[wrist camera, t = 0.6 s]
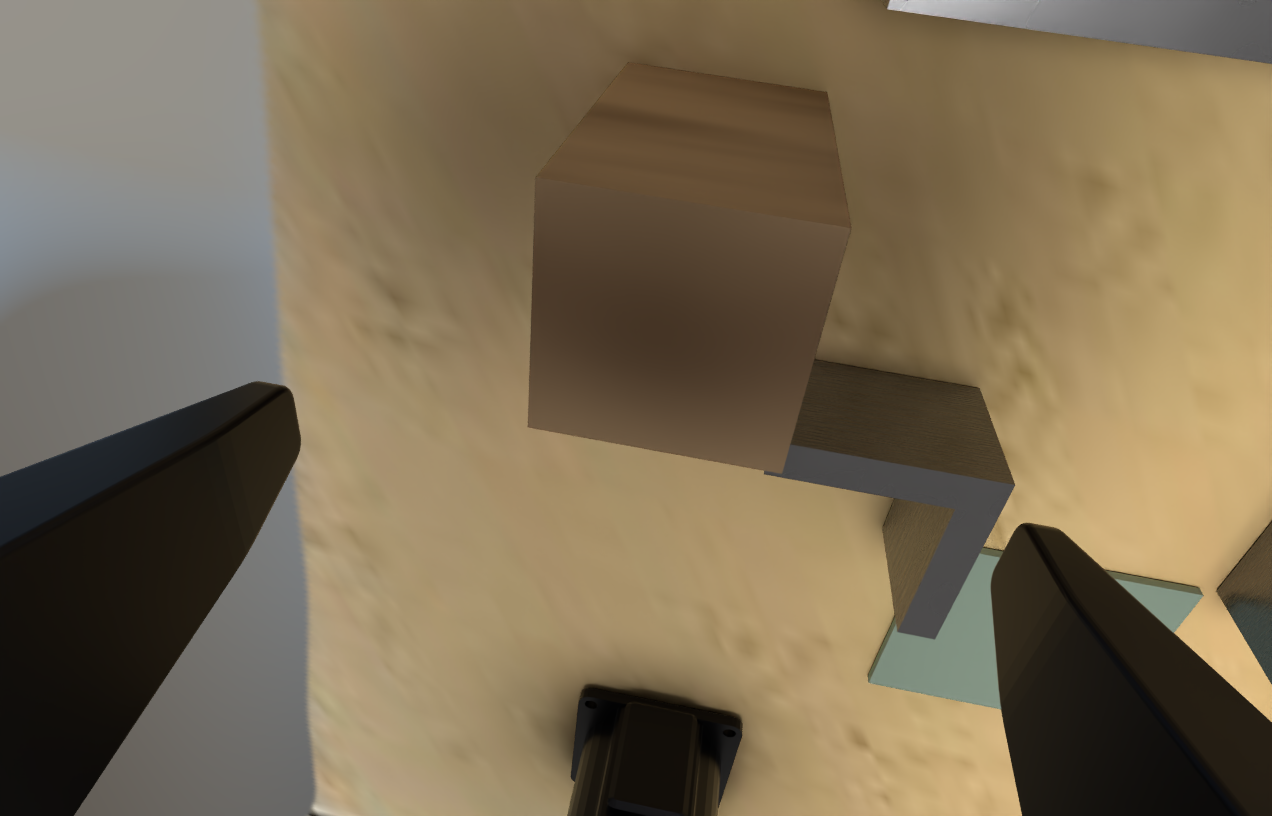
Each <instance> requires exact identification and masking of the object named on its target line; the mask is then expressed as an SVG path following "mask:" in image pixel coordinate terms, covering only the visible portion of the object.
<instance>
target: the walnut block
mask: <svg viewBox="0 0 1272 816" xmlns="http://www.w3.org/2000/svg"><path fill="white" fill-rule="evenodd" d="M850 231H851V223H850V217H849V212H848V206H847V201H846V195H845V189H844V184H843V178H842V173H841V167H840V161H839V156H838V150H837V145H836V139H835V133H834V128H833V122H832V117H831V111H830V105H829V100H828V94H827V92H822V91H816V90H809V89H802V88H795V87H789V86H782V85H775V84H769V83H762V82H755V81H749V80H742V79H735V78H729V77H722V76H715V75H709V74H702V73H695V72H688V71H682V70H675V69H668V68H662V67H655V66H648V65H642V64H635V63H627V65H626V66H625V67H624V68H623V69H622V71H621V72H620V73H619V74H618V76H617V77H616V78H615V79H614V81H613V82H612V83H611V84H610V86H609V87H608V88H607V89H606V91H605V92H604V93H603V94H602V96H601V97H600V98H599V99H598V101H597V102H596V103H595V104H594V105H593V107H592V108H591V109H590V110H589V112H588V113H587V114H586V115H585V117H584V118H583V119H582V120H581V122H580V123H579V124H578V125H577V127H576V128H575V129H574V130H573V132H572V133H571V134H570V135H569V137H568V138H567V139H566V140H565V141H564V143H563V144H562V145H561V146H560V148H559V149H558V150H557V151H556V153H555V154H554V155H553V156H552V158H551V159H550V160H549V161H548V163H547V164H546V165H545V166H544V168H543V169H542V170H541V171H540V173H539V174H538V175H537V176H536V181H535V213H534V246H533V278H532V310H531V343H530V375H529V407H528V427H529V428H534V429H540V430H545V431H551V432H556V433H562V434H567V435H573V436H578V437H583V438H589V439H594V440H600V441H605V442H611V443H616V444H622V445H627V446H633V447H638V448H644V449H649V450H654V451H660V452H665V453H671V454H676V455H682V456H687V457H693V458H698V459H704V460H709V461H714V462H720V463H725V464H731V465H736V466H742V467H747V468H753V469H758V470H764V471H769V472H775V473H780V474H782V472H783V468H784V465H785V461H786V458H787V454H788V451H789V447H790V443H791V440H792V436H793V433H794V429H795V426H796V422H797V419H798V415H799V412H800V408H801V405H802V401H803V398H804V394H805V390H806V387H807V383H808V380H809V376H810V373H811V369H812V366H813V362H814V359H815V355H816V352H817V348H818V344H819V341H820V337H821V334H822V330H823V327H824V323H825V320H826V316H827V313H828V309H829V306H830V302H831V299H832V295H833V291H834V288H835V284H836V281H837V277H838V274H839V270H840V267H841V263H842V260H843V256H844V253H845V249H846V246H847V242H848V238H849V235H850Z"/></svg>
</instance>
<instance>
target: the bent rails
mask: <svg viewBox="0 0 1272 816" xmlns="http://www.w3.org/2000/svg"><path fill="white" fill-rule="evenodd" d="M881 1H882V2H883V4H884V5H885V7H886V8H887V9H889V10H896V11H903V12H910V13H917V14H924V15H932V16H939V17H946V18H953V19H960V20H967V21H974V22H981V23H988V24H995V25H1002V26H1009V27H1016V28H1023V29H1030V30H1037V31H1045V32H1052V33H1059V34H1066V35H1073V36H1080V37H1087V38H1094V39H1101V40H1108V41H1115V42H1122V43H1129V44H1136V45H1143V46H1150V47H1157V48H1165V49H1172V50H1179V51H1186V52H1193V53H1200V54H1207V55H1214V56H1221V57H1228V58H1235V59H1242V60H1249V61H1256V62H1263V63H1270V64H1272V0H881ZM764 474H766V475H771V476H777V477H782V478H787V479H793V480H798V481H804V482H809V483H815V484H820V485H826V486H831V487H837V488H842V489H847V490H853V491H858V492H864V493H869V494H875V495H880V496H886V497H891V498H895V499H894V501H893V504H892V506H891V509H890V511H889V514H888V516H887V519H886V521H885V524H884V526H883V529H882V530H883V537H884V544H885V551H886V558H887V564H888V571H889V578H890V585H891V592H892V599H893V606H894V613H895V620H896V627H897V632H899V633H904V634H909V635H914V636H919V637H924V638H929V639H936V637H937V635H938V633H939V631H940V629H941V627H942V625H943V623H944V621H945V619H946V617H947V615H948V614H949V612H950V610H951V608H952V606H953V604H954V602H955V600H956V598H957V596H958V594H959V592H960V590H961V589H962V587H963V585H964V583H965V581H966V579H967V577H968V575H969V573H970V571H971V569H972V567H973V565H974V563H975V562H976V560H977V558H978V556H979V554H980V552H981V550H982V548H983V546H984V544H985V542H986V540H987V538H988V537H989V535H990V533H991V531H992V529H993V527H994V525H995V523H996V521H997V519H998V517H999V515H1000V513H1001V511H1002V510H1003V508H1004V506H1005V504H1006V502H1007V500H1008V498H1009V496H1010V494H1011V492H1012V490H1013V488H1014V486H1015V483H1014V480H1013V478H1012V475H1011V472H1010V470H1009V467H1008V464H1007V461H1006V459H1005V456H1004V453H1003V451H1002V448H1001V445H1000V442H999V440H998V437H997V434H996V432H995V429H994V426H993V423H992V421H991V418H990V415H989V413H988V410H987V407H986V404H985V402H984V399H983V396H982V394H981V391H980V388H974V387H969V386H963V385H957V384H951V383H945V382H940V381H934V380H928V379H922V378H916V377H911V376H905V375H899V374H893V373H888V372H882V371H876V370H870V369H864V368H859V367H853V366H847V365H841V364H835V363H830V362H824V361H818V360H814V362H813V366H812V369H811V373H810V376H809V380H808V383H807V387H806V390H805V394H804V398H803V401H802V405H801V408H800V412H799V415H798V419H797V422H796V426H795V429H794V433H793V436H792V440H791V443H790V447H789V451H788V454H787V458H786V461H785V465H784V468H783V472H782V474H780V473H775V472H769V471H764ZM1217 593H1218V595H1219V596H1220V598H1221V600H1222V601H1223V603H1224V605H1225V606H1226V608H1227V610H1228V611H1229V613H1230V615H1231V617H1232V618H1233V620H1234V622H1235V623H1236V625H1237V627H1238V628H1239V630H1240V632H1241V633H1242V635H1243V637H1244V639H1245V640H1246V642H1247V644H1248V645H1249V647H1250V649H1251V650H1252V652H1253V654H1254V655H1255V657H1256V659H1257V660H1258V662H1259V664H1260V666H1261V667H1262V669H1263V671H1264V672H1265V674H1266V676H1267V677H1268V679H1269V681H1270V682H1271V684H1272V523H1271V524H1270V525H1269V526H1268V528H1267V529H1266V530H1265V531H1264V533H1263V534H1262V535H1261V536H1260V538H1259V539H1258V540H1257V541H1256V543H1255V544H1254V545H1253V546H1252V547H1251V549H1250V550H1249V551H1248V552H1247V554H1246V555H1245V556H1244V557H1243V559H1242V560H1241V561H1240V562H1239V564H1238V565H1237V566H1236V567H1235V569H1234V570H1233V571H1232V572H1231V574H1230V575H1229V576H1228V577H1227V579H1226V580H1225V581H1224V582H1223V583H1222V585H1221V586H1220V587H1219V588H1218V590H1217Z"/></svg>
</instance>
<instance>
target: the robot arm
mask: <svg viewBox="0 0 1272 816" xmlns="http://www.w3.org/2000/svg"><path fill="white" fill-rule="evenodd" d="M300 446H301V435H300V430H299V424H298V419H297V413H296V408H295V402H294V397H293V394H292V392H291V391H290V389H289V388H287V387H286V386H283V385H277V384H271V383H266V382H260V381H258V382H257V381H256V382H252V383H249V384H246V385H243V386H241V387H238V388H236V389H233V390H230V391H228V392H225V393H222V394H220V395H217V396H214V397H212V398H209V399H206V400H204V401H201V402H198V403H196V404H193V405H190V406H188V407H185V408H182V409H180V410H177V411H174V412H172V413H169V414H166V415H164V416H161V417H158V418H156V419H153V420H151V421H148V422H145V423H142V424H140V425H137V426H134V427H132V428H129V429H126V430H124V431H121V432H118V433H116V434H113V435H110V436H108V437H105V438H102V439H100V440H97V441H95V442H92V443H89V444H86V445H84V446H81V447H79V448H76V449H73V450H70V451H68V452H65V453H63V454H60V455H57V456H54V457H52V458H49V459H46V460H44V461H41V462H38V463H36V464H33V465H31V466H28V467H25V468H23V469H20V470H17V471H14V472H12V473H9V474H7V475H4V476H1V477H0V816H74V815H75V813H76V812H77V810H78V809H79V807H80V806H81V804H82V802H83V801H84V800H85V798H86V797H87V795H88V794H89V792H90V791H91V789H92V788H93V786H94V785H95V783H96V782H97V780H98V779H99V777H100V775H101V774H102V773H103V771H104V770H105V768H106V766H107V765H108V764H109V762H110V760H111V759H112V758H113V756H114V754H115V753H116V752H117V750H118V749H119V747H120V745H121V744H122V742H123V741H124V739H125V738H126V736H127V735H128V733H129V732H130V730H131V729H132V727H133V726H134V724H135V723H136V721H137V720H138V718H139V717H140V715H141V714H142V712H143V711H144V709H145V708H146V706H147V705H148V703H149V702H150V700H151V699H152V697H153V696H154V694H155V693H156V691H157V690H158V688H159V686H160V685H161V684H162V682H163V681H164V679H165V678H166V676H167V675H168V673H169V672H170V670H171V669H172V667H173V666H174V664H175V663H176V661H177V660H178V658H179V657H180V655H181V654H182V652H183V651H184V649H185V648H186V646H187V645H188V643H189V642H190V640H191V639H192V637H193V636H194V634H195V633H196V631H197V630H198V628H199V627H200V625H201V624H202V622H203V621H204V619H205V618H206V616H207V615H208V613H209V612H210V610H211V609H212V607H213V606H214V604H215V603H216V601H217V600H218V598H219V597H220V595H221V594H222V592H223V590H224V589H225V588H226V586H227V585H228V583H229V582H230V580H231V579H232V577H233V576H234V574H235V572H236V571H237V569H238V568H239V566H240V565H241V563H242V561H243V560H244V558H245V557H246V555H247V553H248V552H249V550H250V548H251V546H252V544H253V543H254V541H255V539H256V537H257V535H258V533H259V531H260V529H261V527H262V526H263V523H264V522H265V520H266V518H267V516H268V514H269V512H270V510H271V508H272V506H273V504H274V502H275V500H276V498H277V496H278V494H279V492H280V490H281V489H282V487H283V485H284V483H285V481H286V479H287V477H288V475H289V473H290V471H291V469H292V467H293V465H294V463H295V461H296V459H297V457H298V454H299V451H300ZM990 588H991V602H992V615H993V627H994V639H995V652H996V664H997V676H998V688H999V697H1000V706H1001V711H1002V717H1003V723H1004V728H1005V733H1006V738H1007V743H1008V748H1009V753H1010V758H1011V763H1012V768H1013V772H1014V777H1015V782H1016V787H1017V792H1018V797H1019V802H1020V807H1021V812H1022V816H1272V722H1271V721H1270V720H1269V719H1267V718H1266V717H1265V716H1264V715H1263V714H1262V713H1261V712H1260V711H1259V710H1258V709H1256V708H1255V707H1254V706H1253V705H1252V704H1251V703H1250V702H1249V701H1248V700H1247V699H1246V698H1244V697H1243V696H1242V695H1241V694H1240V693H1239V692H1238V691H1237V690H1236V689H1235V688H1233V687H1232V686H1231V685H1230V684H1229V683H1228V682H1227V681H1226V680H1225V679H1224V678H1223V677H1221V676H1220V675H1219V674H1218V673H1217V672H1216V671H1215V670H1214V669H1213V668H1212V667H1210V666H1209V665H1208V664H1207V663H1206V662H1205V661H1204V660H1203V659H1202V658H1201V657H1200V656H1198V655H1197V654H1196V653H1195V652H1194V651H1193V650H1192V649H1191V648H1190V647H1189V646H1187V645H1186V644H1185V643H1184V642H1183V641H1182V640H1181V639H1180V638H1179V637H1178V636H1176V635H1175V634H1174V633H1173V632H1172V631H1171V630H1170V629H1169V628H1168V627H1167V626H1166V625H1164V624H1163V623H1162V622H1161V621H1160V620H1159V619H1158V618H1157V617H1156V616H1155V615H1153V614H1152V613H1151V612H1150V611H1149V610H1148V609H1147V608H1146V607H1145V606H1144V605H1143V604H1141V603H1140V602H1139V601H1138V600H1137V599H1136V598H1135V597H1134V596H1133V595H1132V594H1130V593H1129V592H1128V591H1127V590H1126V589H1125V588H1124V587H1123V586H1122V585H1121V584H1120V583H1118V582H1117V581H1116V580H1115V579H1114V578H1113V577H1112V576H1111V575H1110V574H1109V573H1107V572H1106V571H1105V570H1104V569H1103V568H1102V567H1101V566H1100V565H1099V564H1098V563H1097V562H1095V561H1094V560H1093V559H1092V558H1091V557H1090V556H1089V555H1088V554H1087V553H1086V552H1084V551H1083V550H1082V549H1081V548H1080V547H1079V546H1078V545H1077V544H1076V543H1075V542H1073V541H1072V540H1071V539H1070V538H1069V537H1068V536H1067V535H1066V534H1065V533H1064V532H1062V531H1061V530H1059V529H1057V528H1054V527H1049V526H1044V525H1038V524H1033V523H1023V524H1021V525H1019V526H1018V527H1017V528H1016V530H1015V531H1014V533H1013V535H1012V537H1011V538H1010V540H1009V542H1008V544H1007V546H1006V548H1005V550H1004V551H1003V553H1002V555H1001V557H1000V559H999V561H998V562H997V564H996V566H995V568H994V571H993V574H992V578H991V586H990ZM742 728H743V724H742V722H741V721H740V720H739V719H737V718H734V717H731V716H726V715H721V714H716V713H711V712H706V711H702V710H697V709H692V708H687V707H682V706H677V705H672V704H667V703H662V702H658V701H653V700H648V699H643V698H638V697H633V696H628V695H623V694H619V693H614V692H609V691H604V690H599V689H594V688H587V689H584V690H583V691H582V692H581V695H580V699H579V704H578V713H577V723H576V732H575V742H574V751H573V760H572V770H571V779H572V780H573V781H574V782H575V784H574V788H573V793H572V797H571V801H570V806H569V810H568V814H567V816H717V813H718V808H719V805H720V802H721V799H722V795H723V792H724V789H725V786H726V783H727V780H728V777H729V774H730V771H731V768H732V765H733V762H734V759H735V756H736V753H737V750H738V747H739V744H740V741H741V738H742Z"/></svg>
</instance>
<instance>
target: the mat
mask: <svg viewBox="0 0 1272 816" xmlns="http://www.w3.org/2000/svg"><path fill="white" fill-rule="evenodd" d="M1002 553H1003V551H998V550H993V549H988V548H982V550H981V552H980V554H979V556H978V558H977V560H976V562H975V563H974V565H973V567H972V569H971V571H970V573H969V575H968V577H967V579H966V581H965V583H964V585H963V587H962V589H961V590H960V592H959V594H958V596H957V598H956V600H955V602H954V604H953V606H952V608H951V610H950V612H949V614H948V615H947V617H946V619H945V621H944V623H943V625H942V627H941V629H940V631H939V633H938V635H937V637H936V639H929V638H924V637H919V636H914V635H909V634H904V633H899V632H897V627H896V620H895V618H894V620H893V622H892V625H891V627H890V629H889V631H888V633H887V635H886V638H885V640H884V642H883V644H882V646H881V648H880V651H879V653H878V655H877V657H876V659H875V662H874V664H873V666H872V668H871V670H870V672H869V675H868V682H869V683H871V684H876V685H881V686H886V687H891V688H896V689H901V690H906V691H911V692H916V693H921V694H926V695H931V696H936V697H941V698H946V699H951V700H956V701H961V702H966V703H972V704H977V705H982V706H987V707H992V708H997V709H1001V706H1000V697H999V688H998V676H997V664H996V652H995V639H994V627H993V615H992V602H991V588H990V586H991V578H992V574H993V571H994V568H995V566H996V564H997V562H998V561H999V559H1000V557H1001V555H1002ZM1105 571H1106V570H1105ZM1106 572H1107V573H1109V574H1110V575H1111V576H1112V577H1113V578H1114V579H1115V580H1116V581H1117V582H1118V583H1120V584H1121V585H1122V586H1123V587H1124V588H1125V589H1126V590H1127V591H1128V592H1129V593H1130V594H1132V595H1133V596H1134V597H1135V598H1136V599H1137V600H1138V601H1139V602H1140V603H1141V604H1143V605H1144V606H1145V607H1146V608H1147V609H1148V610H1149V611H1150V612H1151V613H1152V614H1153V615H1155V616H1156V617H1157V618H1158V619H1159V620H1160V621H1161V622H1162V623H1163V624H1164V625H1166V626H1167V627H1168V628H1169V629H1170V630H1171V631H1172V632H1173V633H1174V632H1175V631H1176V630H1177V628H1178V627H1179V626H1180V624H1181V623H1182V622H1183V621H1184V619H1185V618H1186V617H1187V616H1188V614H1189V613H1190V612H1191V611H1192V609H1193V608H1194V607H1195V606H1196V604H1197V603H1198V602H1199V601H1200V599H1201V598H1202V597H1203V596H1204V595H1203V594H1202V592H1201V590H1200V588H1197V587H1192V586H1186V585H1181V584H1176V583H1170V582H1165V581H1160V580H1154V579H1149V578H1144V577H1138V576H1133V575H1127V574H1122V573H1117V572H1111V571H1106Z"/></svg>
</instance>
